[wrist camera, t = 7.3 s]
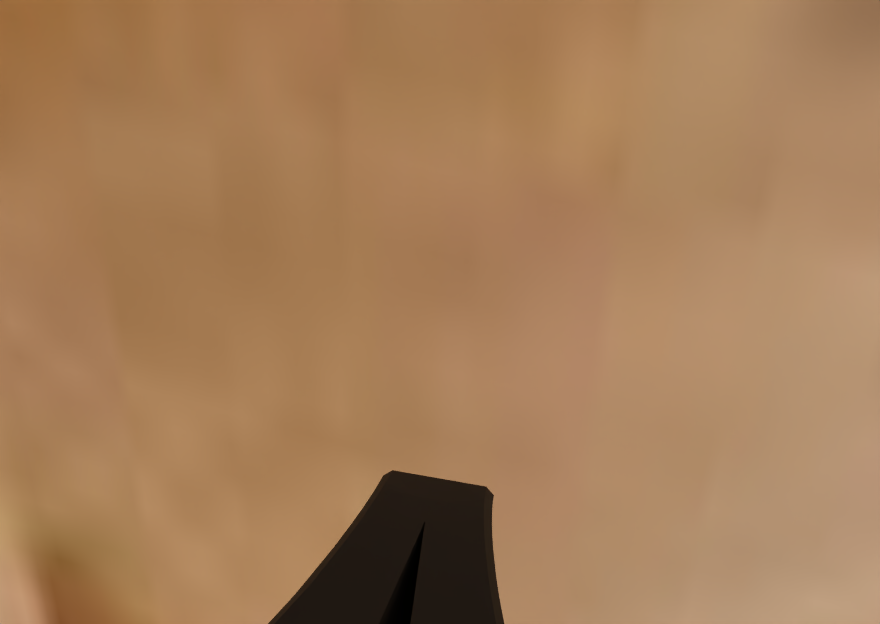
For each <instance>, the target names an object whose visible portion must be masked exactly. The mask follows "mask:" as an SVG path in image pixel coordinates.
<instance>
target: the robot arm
mask: <svg viewBox="0 0 880 624" xmlns="http://www.w3.org/2000/svg"><path fill="white" fill-rule="evenodd" d="M493 496H494V495H493V494H492V493H491V492H490V491H489V489H488V488H487V487H485V486H479V485H473V484H467V483H462V482H456V481H450V480H445V479H439V478H433V477H427V476H422V475H416V474H410V473H405V472H399V471H393V470H392V471H391V472H389V473H387V474H385V475H384V476H383V477H382V479H381V481H380V482H379V484H378V486H377V487H376V489H375V491H374V492H373V494H372V495H371V497H370V498H369V500H368V501H367V503H366V504H365V506H364V507H363V509H362V510H361V511H360V513H359V514H358V516H357V517H356V519H355V520H354V521H353V523H352V524H351V525H350V527H349V528H348V529H347V531H346V532H345V533H344V535H343V536H342V537H341V539H340V540H339V541H338V543H337V544H336V545H335V547H334V548H333V549H332V550H331V552H330V553H329V554H328V555H327V556H326V558H325V559H324V560H323V561H322V562H321V564H320V565H319V566H318V567H317V569H316V570H315V571H314V572H313V573H312V575H311V576H310V577H309V578H308V580H307V581H306V582H305V583H304V584H303V586H302V587H301V588H300V589H299V590H298V592H297V593H296V594H295V595H294V596H293V597H292V598H291V600H290V601H289V602H288V603H287V604H286V605H285V606H284V607H283V608H282V609H281V610H280V612H279V613H278V614H277V615H276V616H275V617H274V618H273V619H272V620H271V621H270V622H269V623H268V624H504V620H503V615H502V610H501V605H500V599H499V593H498V587H497V580H496V572H495V563H494V554H493V541H492V504H493Z"/></svg>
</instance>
